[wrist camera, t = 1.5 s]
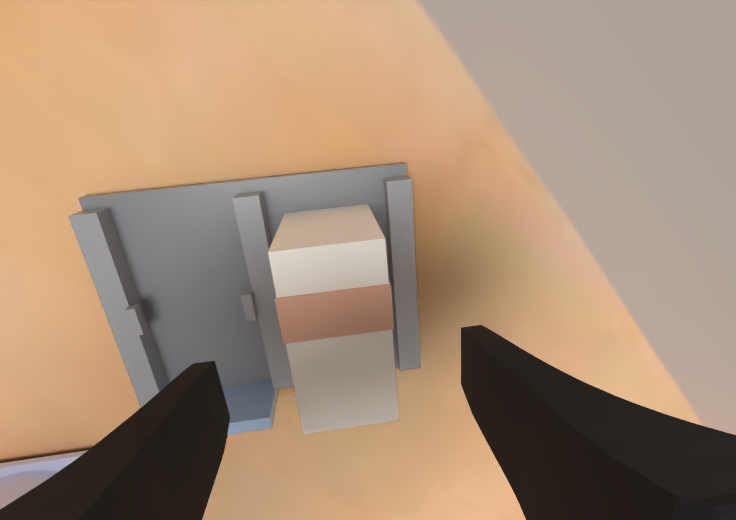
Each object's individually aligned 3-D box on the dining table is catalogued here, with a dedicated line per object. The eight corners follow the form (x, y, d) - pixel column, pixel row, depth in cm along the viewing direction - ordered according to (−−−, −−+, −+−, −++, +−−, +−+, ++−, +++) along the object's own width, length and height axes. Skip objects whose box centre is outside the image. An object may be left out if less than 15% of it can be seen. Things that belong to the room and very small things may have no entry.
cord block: (381, 344, 19) (401, 422, 14) (307, 354, 18) (301, 437, 14) (368, 203, 16) (387, 239, 11) (283, 213, 16) (265, 253, 11)
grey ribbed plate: (414, 364, 20) (429, 404, 17) (158, 400, 19) (129, 449, 16) (403, 162, 16) (420, 171, 13) (85, 195, 15) (31, 212, 12)
